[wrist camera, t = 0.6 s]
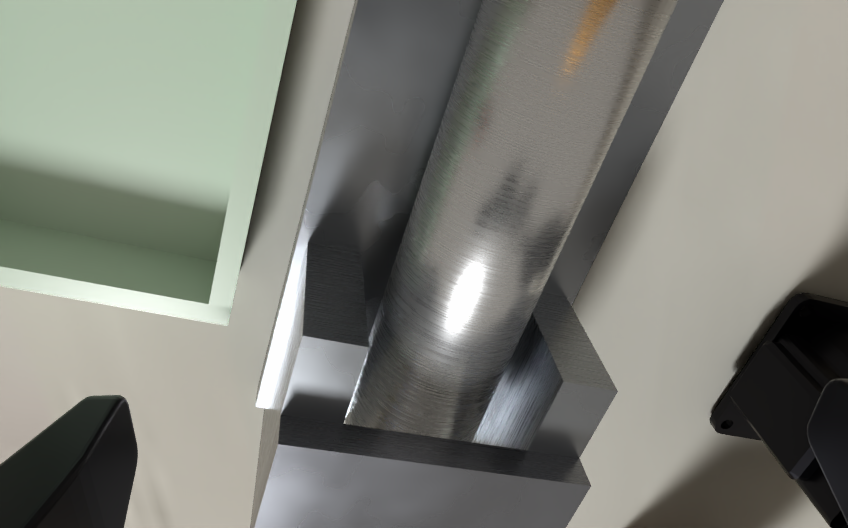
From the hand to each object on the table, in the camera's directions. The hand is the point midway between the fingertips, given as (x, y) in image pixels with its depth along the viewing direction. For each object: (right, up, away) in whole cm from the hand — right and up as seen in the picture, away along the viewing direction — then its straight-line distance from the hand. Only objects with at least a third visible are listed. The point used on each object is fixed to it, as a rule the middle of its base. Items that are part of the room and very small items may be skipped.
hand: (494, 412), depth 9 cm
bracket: (0, +4, +12) cm, 12 cm away
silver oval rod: (+1, +4, +11) cm, 11 cm away
